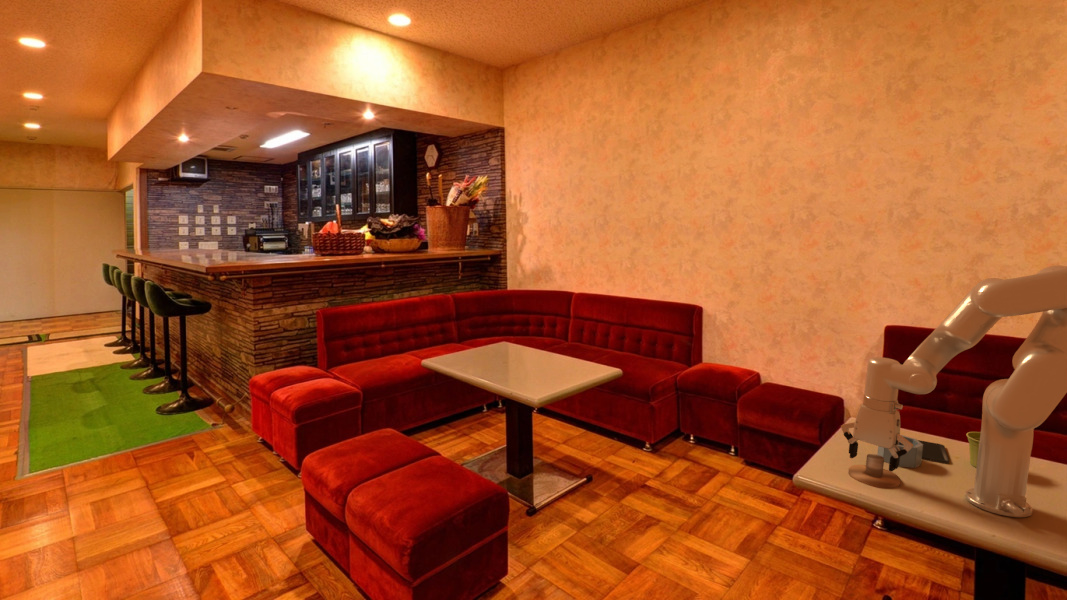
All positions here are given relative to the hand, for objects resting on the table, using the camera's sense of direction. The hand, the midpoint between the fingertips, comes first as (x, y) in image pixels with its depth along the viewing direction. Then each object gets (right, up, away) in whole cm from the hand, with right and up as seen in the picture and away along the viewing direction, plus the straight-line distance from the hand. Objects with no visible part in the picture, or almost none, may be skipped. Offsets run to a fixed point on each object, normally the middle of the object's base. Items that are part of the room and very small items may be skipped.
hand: (872, 463), depth 147 cm
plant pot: (+37, -3, +7) cm, 37 cm away
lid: (+1, -4, 0) cm, 4 cm away
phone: (+28, -2, +17) cm, 33 cm away
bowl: (+15, -2, +11) cm, 19 cm away
